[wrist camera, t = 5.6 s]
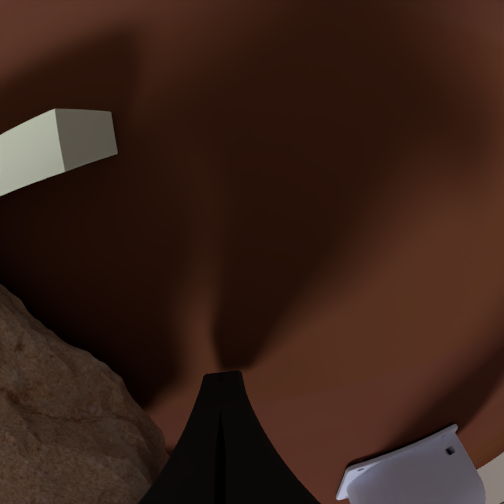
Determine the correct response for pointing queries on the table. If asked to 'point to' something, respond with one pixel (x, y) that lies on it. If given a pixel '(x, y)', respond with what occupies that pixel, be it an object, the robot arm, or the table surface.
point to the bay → (54, 145)
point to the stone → (67, 421)
